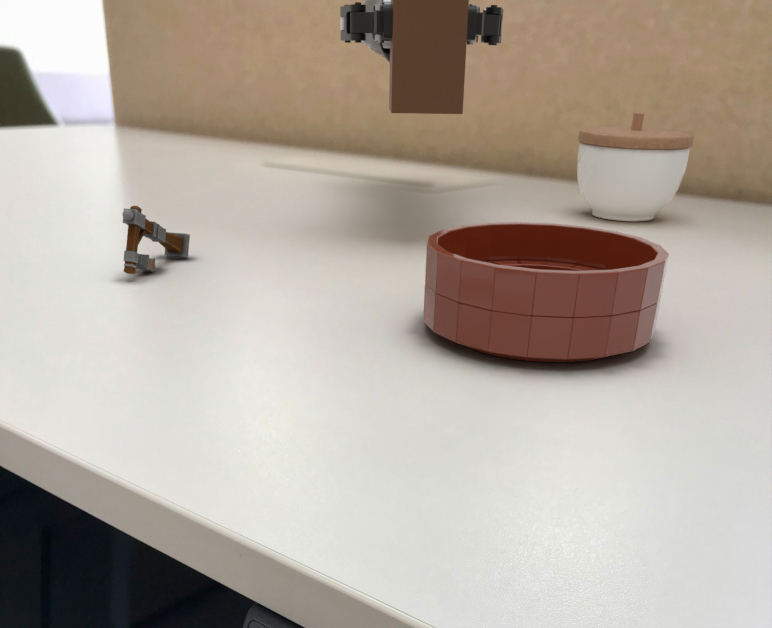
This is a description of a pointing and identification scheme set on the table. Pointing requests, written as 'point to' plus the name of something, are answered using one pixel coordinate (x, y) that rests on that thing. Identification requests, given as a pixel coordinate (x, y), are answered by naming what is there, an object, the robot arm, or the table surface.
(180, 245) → the wooden post with brackets
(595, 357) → the bowl
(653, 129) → the trinket box
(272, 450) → the table surface
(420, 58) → the tea box
